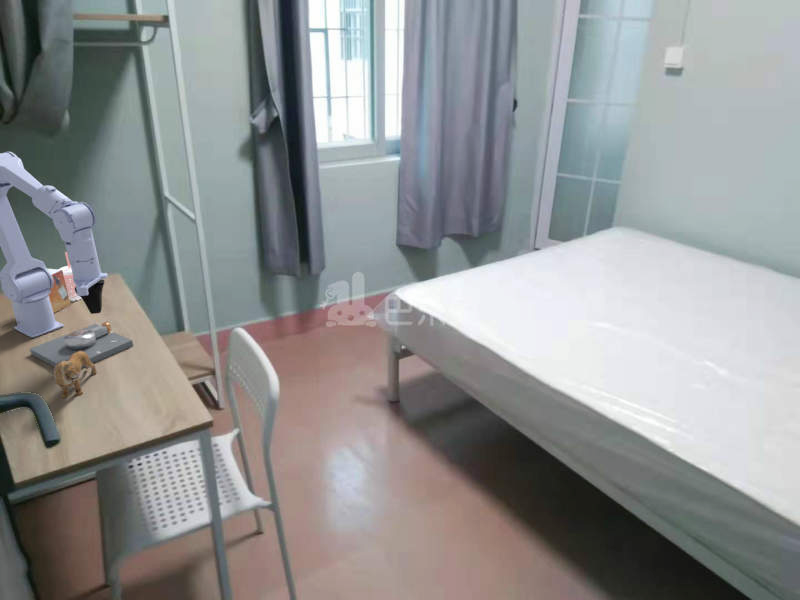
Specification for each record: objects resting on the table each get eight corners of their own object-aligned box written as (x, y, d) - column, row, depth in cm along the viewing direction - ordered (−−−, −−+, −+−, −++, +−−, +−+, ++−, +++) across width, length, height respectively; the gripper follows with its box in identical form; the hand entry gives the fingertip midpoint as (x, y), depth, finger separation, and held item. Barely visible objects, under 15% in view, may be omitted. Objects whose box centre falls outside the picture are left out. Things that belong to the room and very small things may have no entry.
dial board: (31, 354, 134) (29, 348, 134) (96, 329, 146) (95, 323, 146) (67, 374, 126) (65, 368, 125) (133, 345, 138) (132, 339, 138)
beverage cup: (76, 292, 168) (65, 247, 162) (93, 294, 167) (83, 249, 161) (60, 300, 163) (47, 254, 157) (77, 303, 161) (66, 256, 156)
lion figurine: (84, 403, 116) (74, 365, 112) (55, 407, 115) (44, 369, 111) (99, 367, 129) (91, 332, 125) (73, 371, 128) (64, 335, 124)
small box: (50, 316, 154) (40, 279, 149) (32, 314, 155) (22, 278, 150) (71, 304, 161) (62, 269, 156) (54, 302, 162) (45, 267, 157)
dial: (77, 352, 132) (75, 343, 131) (60, 345, 134) (58, 337, 133) (119, 332, 141) (117, 324, 140) (102, 327, 143) (100, 319, 142)
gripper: (96, 267, 123) (109, 323, 129) (108, 246, 136) (119, 298, 141) (60, 270, 121) (75, 327, 127) (75, 248, 134) (88, 301, 139)
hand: (96, 312), depth 134 cm, fingers closed
